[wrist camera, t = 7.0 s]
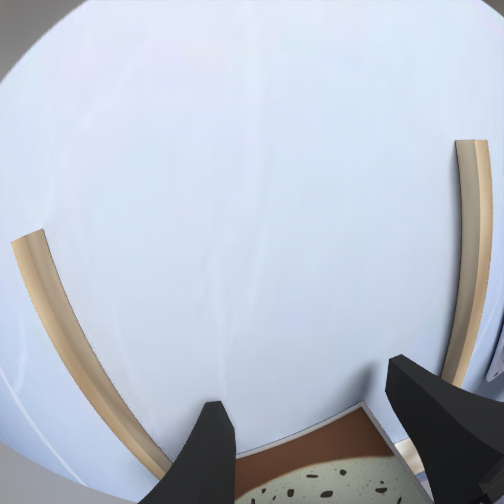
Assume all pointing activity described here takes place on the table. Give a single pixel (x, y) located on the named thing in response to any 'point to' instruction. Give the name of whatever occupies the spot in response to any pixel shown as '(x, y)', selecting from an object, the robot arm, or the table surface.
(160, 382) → the table surface
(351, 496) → the food container
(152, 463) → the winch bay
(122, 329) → the table surface
